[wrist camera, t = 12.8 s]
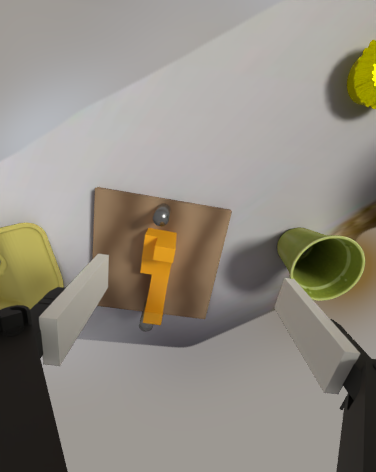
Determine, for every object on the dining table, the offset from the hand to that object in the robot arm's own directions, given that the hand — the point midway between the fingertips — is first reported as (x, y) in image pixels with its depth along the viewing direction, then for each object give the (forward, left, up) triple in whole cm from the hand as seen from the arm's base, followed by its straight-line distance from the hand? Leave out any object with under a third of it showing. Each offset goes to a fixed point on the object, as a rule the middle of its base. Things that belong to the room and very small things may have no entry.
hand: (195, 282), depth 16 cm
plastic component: (+25, +15, -19) cm, 35 cm away
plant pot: (-18, +2, -19) cm, 26 cm away
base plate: (+4, +8, -19) cm, 21 cm away
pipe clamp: (+4, +8, -18) cm, 20 cm away
